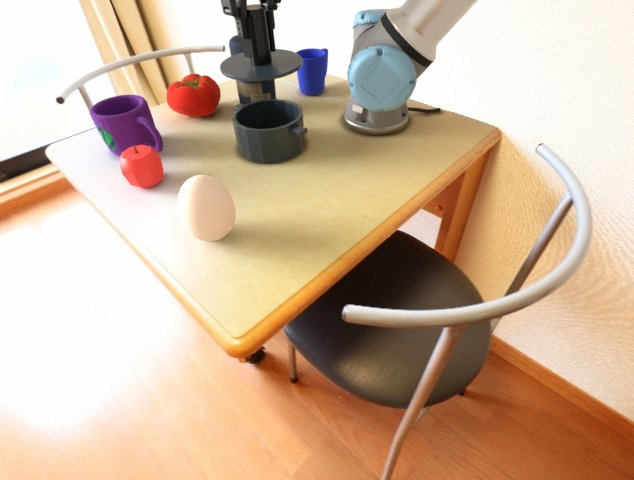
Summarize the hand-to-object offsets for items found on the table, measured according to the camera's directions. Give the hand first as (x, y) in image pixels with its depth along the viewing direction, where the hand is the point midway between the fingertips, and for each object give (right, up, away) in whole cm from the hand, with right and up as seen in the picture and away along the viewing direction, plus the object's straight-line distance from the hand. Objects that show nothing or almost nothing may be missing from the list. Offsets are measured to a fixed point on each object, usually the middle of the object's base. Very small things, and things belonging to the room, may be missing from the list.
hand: (260, 53), depth 68 cm
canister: (-4, -1, +28) cm, 28 cm away
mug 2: (+10, +8, +35) cm, 37 cm away
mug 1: (-28, -15, +14) cm, 35 cm away
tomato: (-19, -2, +27) cm, 33 cm away
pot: (+1, -14, +13) cm, 19 cm away
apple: (-23, -23, +5) cm, 33 cm away
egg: (-7, -34, -7) cm, 35 cm away
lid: (0, -2, +1) cm, 2 cm away
